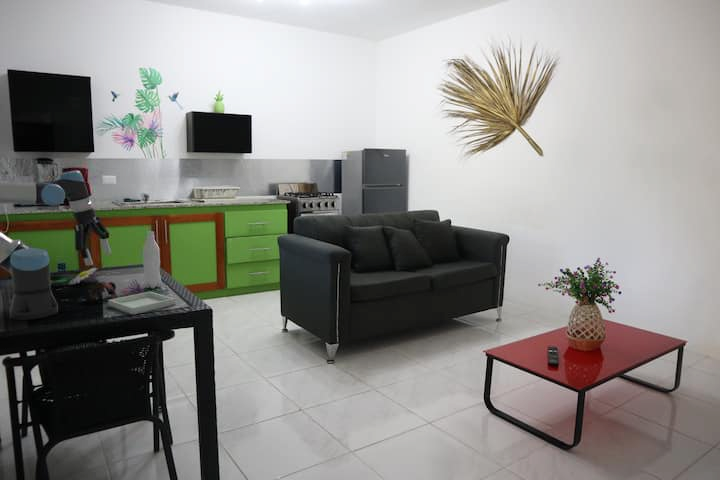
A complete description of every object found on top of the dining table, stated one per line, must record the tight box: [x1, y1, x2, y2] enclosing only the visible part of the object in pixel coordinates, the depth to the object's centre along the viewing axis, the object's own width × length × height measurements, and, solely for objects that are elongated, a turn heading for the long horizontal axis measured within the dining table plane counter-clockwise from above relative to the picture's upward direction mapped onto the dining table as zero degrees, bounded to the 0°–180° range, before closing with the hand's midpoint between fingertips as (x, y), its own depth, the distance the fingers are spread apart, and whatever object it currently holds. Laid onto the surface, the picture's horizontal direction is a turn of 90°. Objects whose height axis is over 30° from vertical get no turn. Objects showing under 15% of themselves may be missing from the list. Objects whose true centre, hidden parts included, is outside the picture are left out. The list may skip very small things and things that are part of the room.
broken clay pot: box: [88, 281, 118, 300], centre depth 212 cm, size 12×10×8 cm
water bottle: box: [142, 230, 162, 289], centre depth 230 cm, size 7×7×25 cm
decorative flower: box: [50, 267, 98, 286], centre depth 233 cm, size 13×5×30 cm
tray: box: [107, 291, 176, 316], centre depth 202 cm, size 18×18×2 cm
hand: (99, 259), depth 213 cm, fingers open, 13 cm apart
